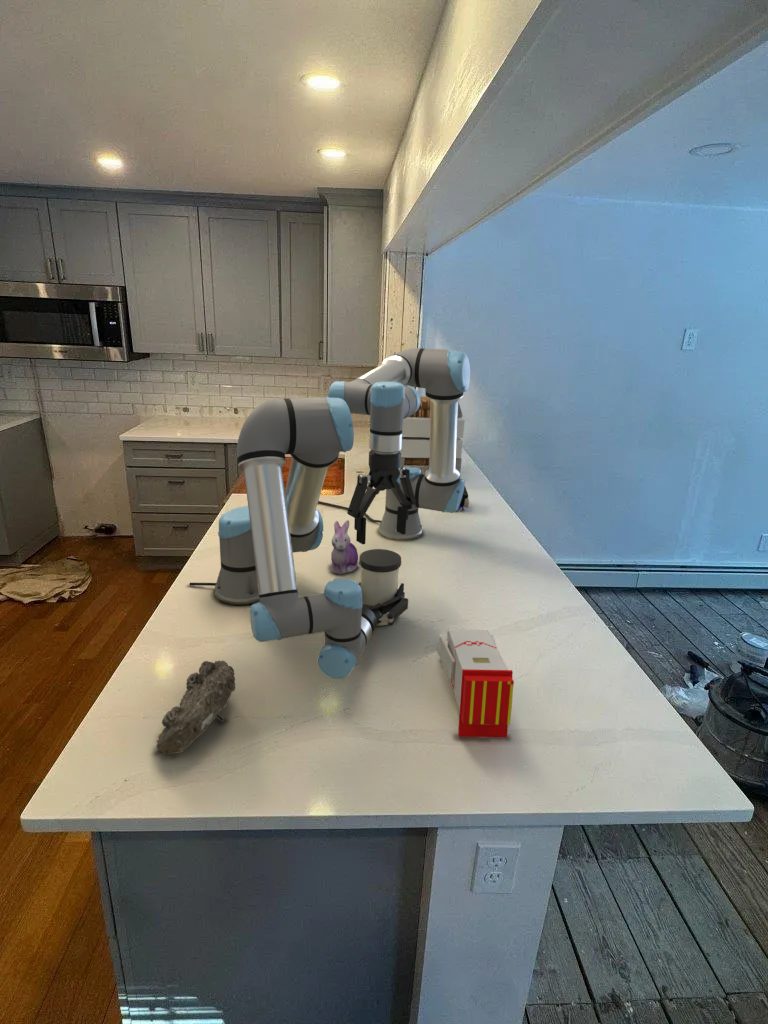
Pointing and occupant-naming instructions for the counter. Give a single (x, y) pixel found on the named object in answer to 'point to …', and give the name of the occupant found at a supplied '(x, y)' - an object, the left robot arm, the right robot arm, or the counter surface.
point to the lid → (380, 560)
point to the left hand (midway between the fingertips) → (383, 584)
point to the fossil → (197, 706)
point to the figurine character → (464, 500)
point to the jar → (378, 587)
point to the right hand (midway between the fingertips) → (381, 537)
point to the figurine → (343, 550)
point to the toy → (478, 682)
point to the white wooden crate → (424, 437)
